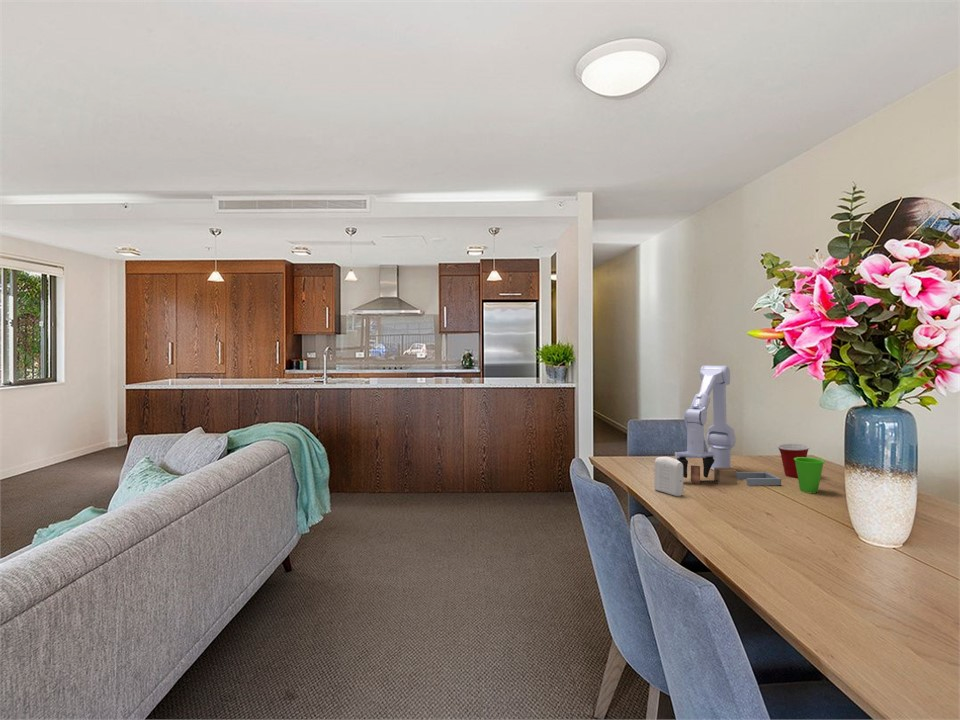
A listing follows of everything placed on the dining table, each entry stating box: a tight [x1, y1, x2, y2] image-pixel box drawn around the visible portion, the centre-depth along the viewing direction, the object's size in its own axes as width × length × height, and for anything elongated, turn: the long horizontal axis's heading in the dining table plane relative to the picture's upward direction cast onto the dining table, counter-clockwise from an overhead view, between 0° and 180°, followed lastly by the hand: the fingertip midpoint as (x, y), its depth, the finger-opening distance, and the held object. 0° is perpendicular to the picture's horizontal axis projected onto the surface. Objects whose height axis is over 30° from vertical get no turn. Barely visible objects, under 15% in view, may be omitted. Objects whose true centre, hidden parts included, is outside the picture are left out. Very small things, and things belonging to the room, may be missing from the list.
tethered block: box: [690, 465, 738, 485], centre depth 189 cm, size 5×16×6 cm, turn 89°
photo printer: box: [654, 456, 684, 497], centre depth 177 cm, size 10×4×12 cm, turn 31°
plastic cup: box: [777, 443, 810, 479], centre depth 197 cm, size 11×11×12 cm
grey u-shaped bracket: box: [737, 471, 782, 487], centre depth 189 cm, size 10×12×2 cm
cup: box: [794, 457, 826, 494], centre depth 177 cm, size 9×9×11 cm
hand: (695, 477), depth 189 cm, fingers open, 7 cm apart
